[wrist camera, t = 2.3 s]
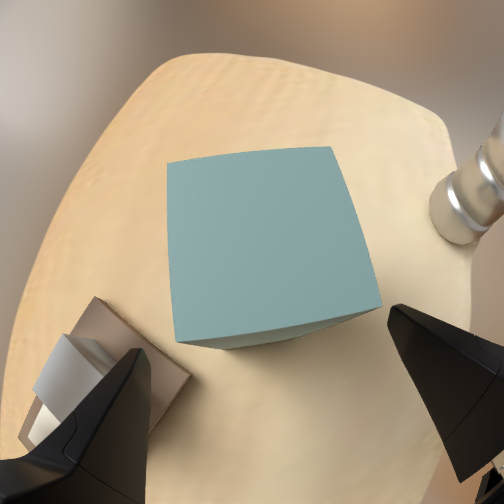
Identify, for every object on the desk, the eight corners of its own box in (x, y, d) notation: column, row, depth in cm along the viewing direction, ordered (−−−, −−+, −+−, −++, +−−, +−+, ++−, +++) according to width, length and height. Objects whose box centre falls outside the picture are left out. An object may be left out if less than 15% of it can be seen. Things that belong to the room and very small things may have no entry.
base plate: (192, 374, 17) (173, 381, 12) (95, 505, 12) (66, 527, 7) (101, 299, 19) (64, 281, 14) (25, 435, 14) (-11, 442, 9)
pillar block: (294, 338, 18) (382, 306, 6) (222, 349, 18) (175, 342, 6) (282, 270, 20) (330, 146, 8) (213, 280, 20) (167, 163, 8)
